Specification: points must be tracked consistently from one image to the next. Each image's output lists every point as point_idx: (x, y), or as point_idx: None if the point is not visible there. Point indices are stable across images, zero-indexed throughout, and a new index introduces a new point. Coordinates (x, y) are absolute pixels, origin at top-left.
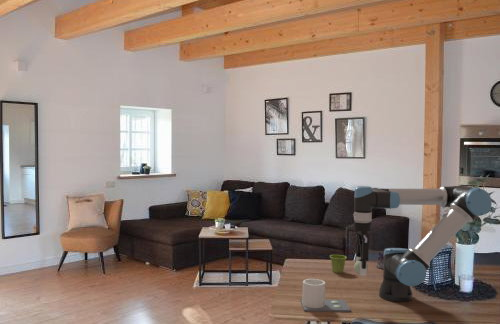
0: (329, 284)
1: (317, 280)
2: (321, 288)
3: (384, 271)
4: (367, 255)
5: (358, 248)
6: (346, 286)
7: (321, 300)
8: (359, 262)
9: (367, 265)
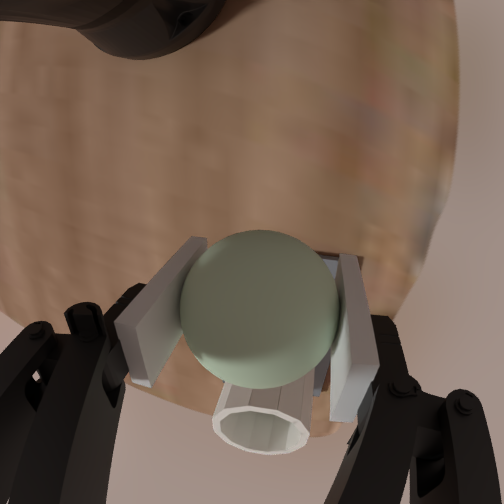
0: (47, 237)
1: (226, 414)
2: (305, 412)
3: (72, 16)
4: (486, 467)
5: (103, 484)
6: (51, 180)
7: (308, 373)
8: (282, 382)
9: (289, 267)
